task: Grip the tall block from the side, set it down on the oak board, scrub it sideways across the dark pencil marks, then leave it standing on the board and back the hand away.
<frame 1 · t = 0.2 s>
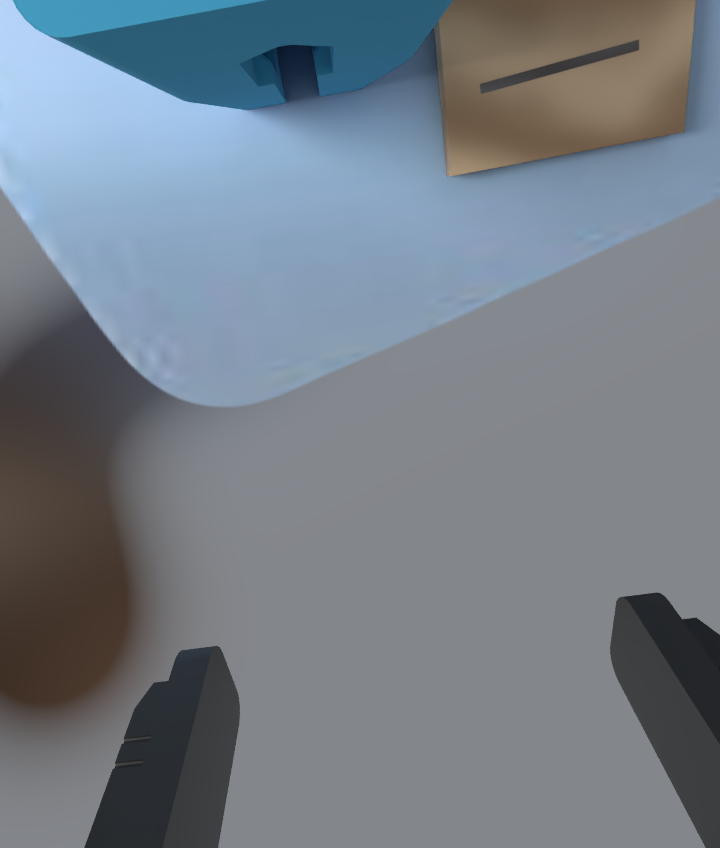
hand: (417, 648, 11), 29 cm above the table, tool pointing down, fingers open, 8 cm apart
block: (294, 49, 30), on the table
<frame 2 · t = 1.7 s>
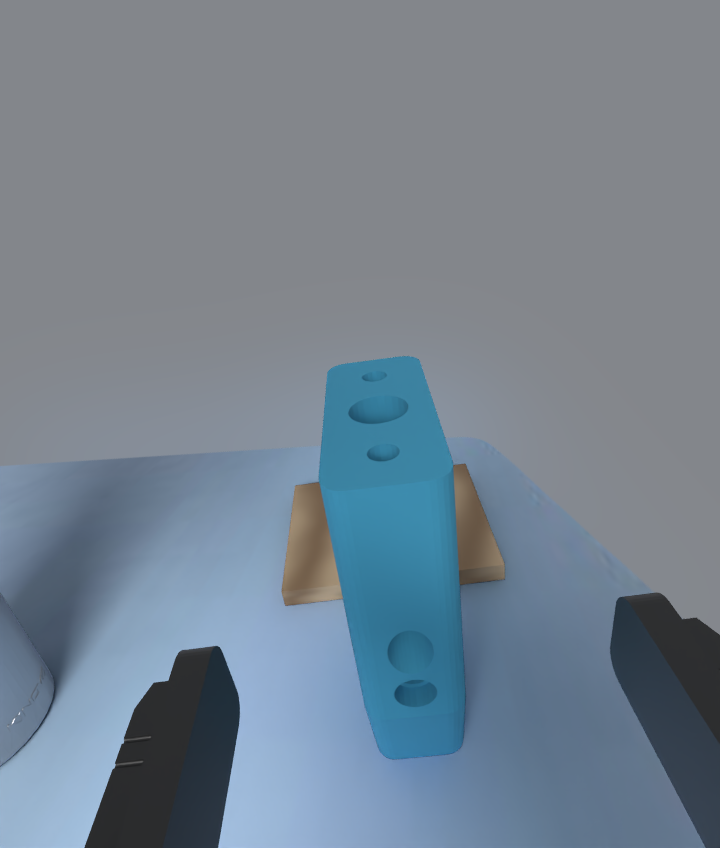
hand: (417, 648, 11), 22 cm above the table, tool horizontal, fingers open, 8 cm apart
oak board: (387, 532, 46), on the table
block: (414, 689, 33), on the table
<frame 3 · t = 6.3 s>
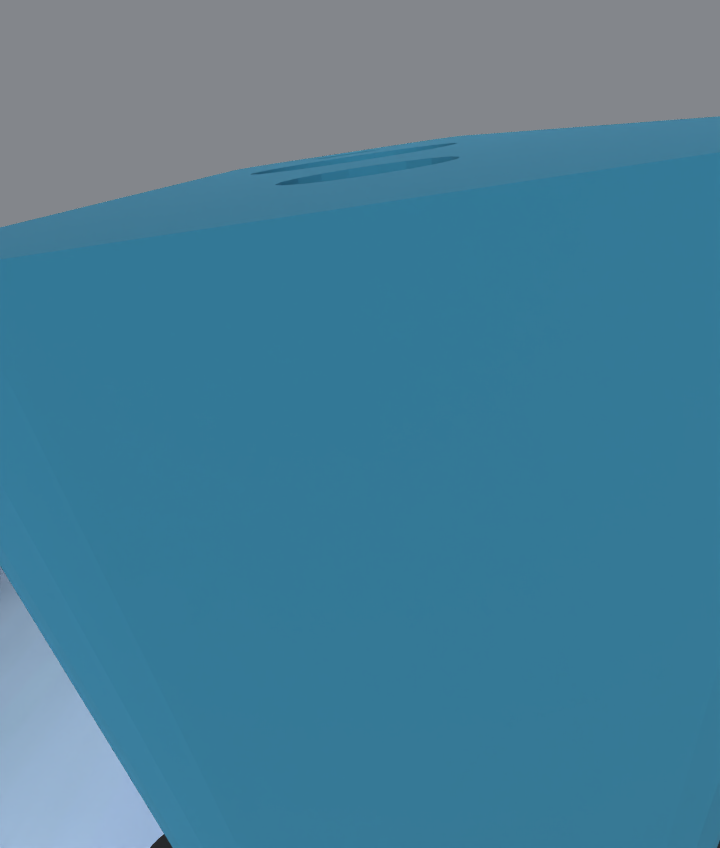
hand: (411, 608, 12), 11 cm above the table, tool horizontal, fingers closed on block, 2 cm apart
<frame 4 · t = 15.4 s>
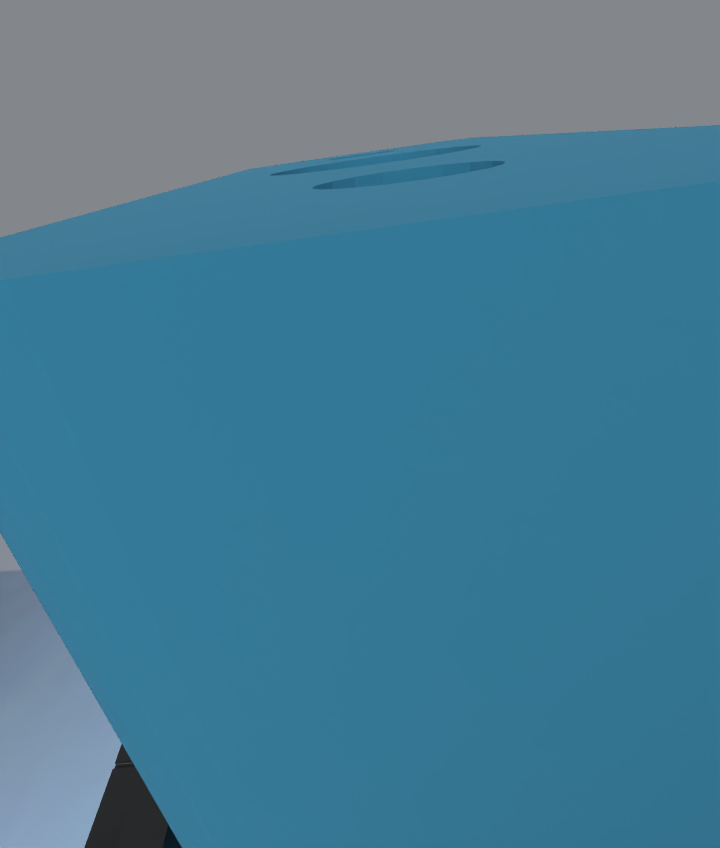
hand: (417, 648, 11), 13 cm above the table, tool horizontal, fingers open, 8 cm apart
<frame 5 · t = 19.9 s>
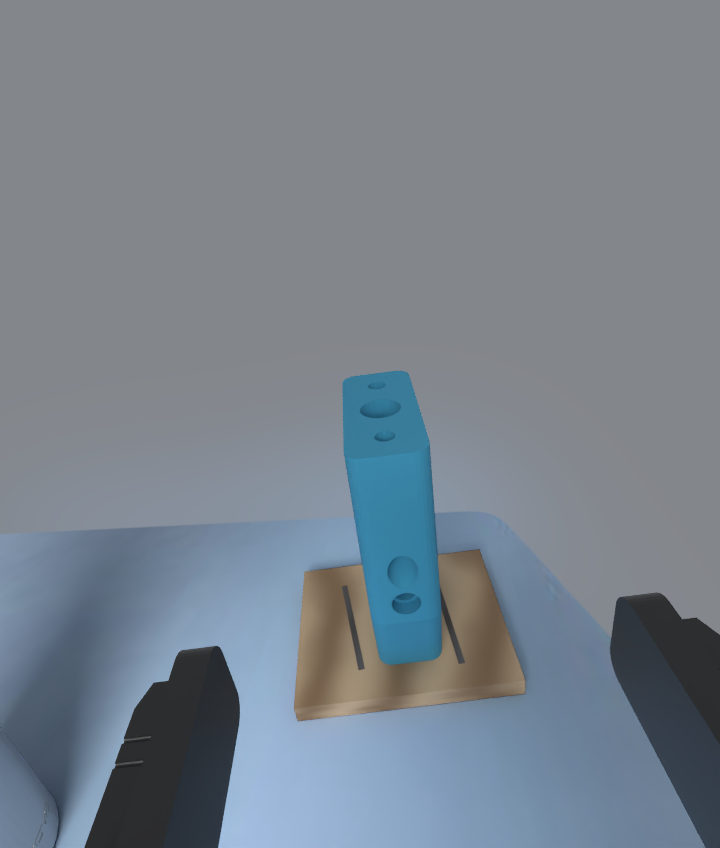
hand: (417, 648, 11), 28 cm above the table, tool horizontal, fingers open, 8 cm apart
oak board: (400, 630, 45), on the table
block: (405, 620, 44), point 1 cm above the table, touching oak board
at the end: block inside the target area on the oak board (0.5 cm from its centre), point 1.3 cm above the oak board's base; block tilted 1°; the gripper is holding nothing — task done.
